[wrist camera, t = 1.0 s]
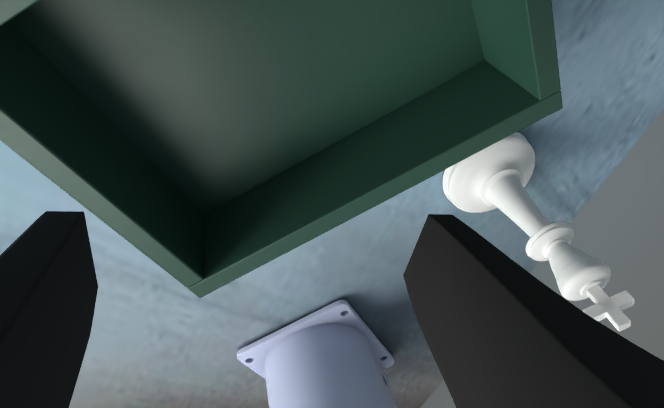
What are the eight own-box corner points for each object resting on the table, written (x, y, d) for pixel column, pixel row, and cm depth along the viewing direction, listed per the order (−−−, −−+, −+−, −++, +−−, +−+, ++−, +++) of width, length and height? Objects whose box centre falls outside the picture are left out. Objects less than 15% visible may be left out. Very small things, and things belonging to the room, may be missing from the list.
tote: (497, 61, 19) (563, 108, 15) (200, 224, 21) (199, 298, 17) (419, -308, 11) (513, -378, 8) (-33, -1, 13) (-116, 50, 10)
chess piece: (430, 159, 22) (553, 324, 14) (522, 111, 21) (701, 256, 13) (454, 219, 25) (564, 381, 17) (534, 179, 24) (685, 327, 17)
